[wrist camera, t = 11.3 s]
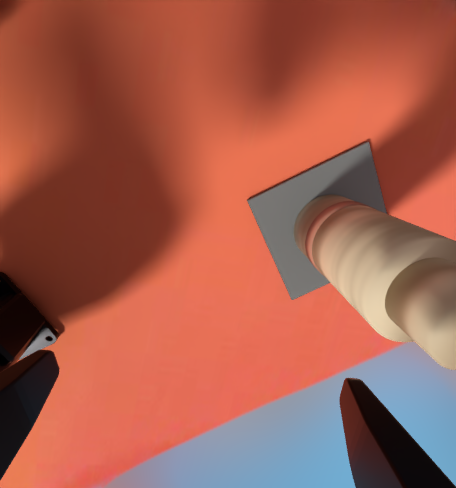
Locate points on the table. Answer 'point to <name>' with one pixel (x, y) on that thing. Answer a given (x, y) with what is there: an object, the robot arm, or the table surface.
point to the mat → (301, 193)
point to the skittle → (385, 271)
